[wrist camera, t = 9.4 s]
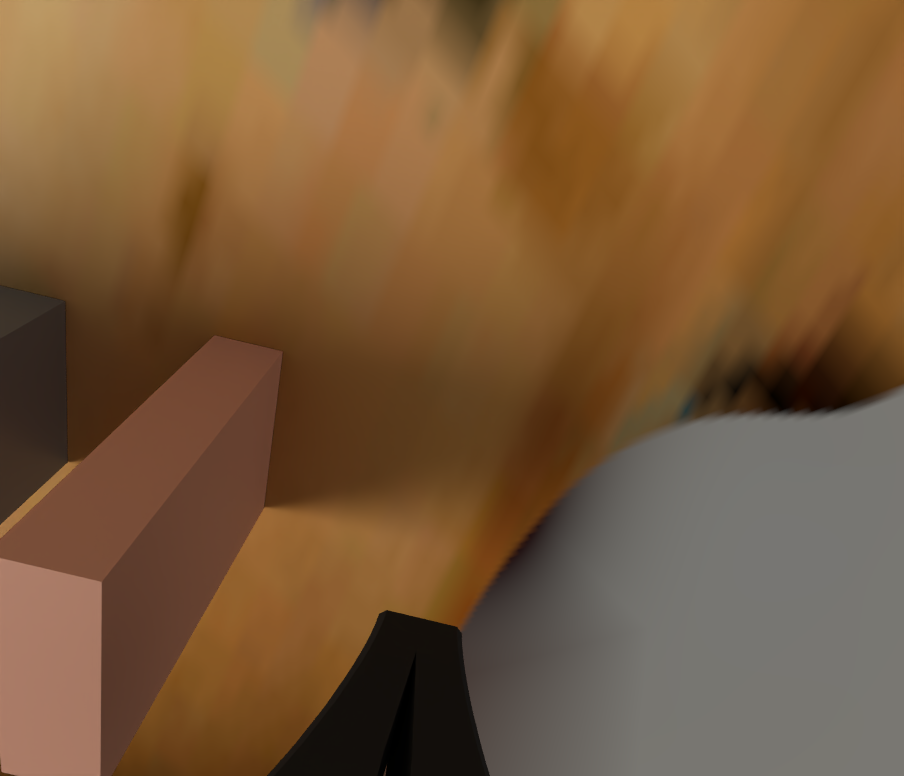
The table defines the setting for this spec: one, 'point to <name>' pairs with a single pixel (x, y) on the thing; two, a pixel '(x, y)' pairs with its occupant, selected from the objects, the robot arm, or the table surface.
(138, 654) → the domino
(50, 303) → the domino
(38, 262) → the table surface
